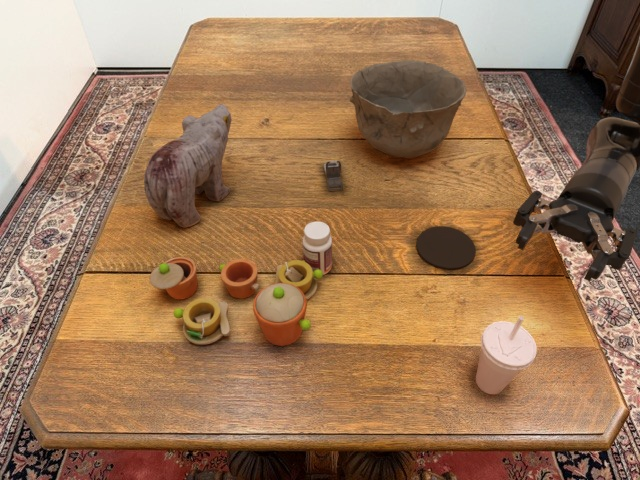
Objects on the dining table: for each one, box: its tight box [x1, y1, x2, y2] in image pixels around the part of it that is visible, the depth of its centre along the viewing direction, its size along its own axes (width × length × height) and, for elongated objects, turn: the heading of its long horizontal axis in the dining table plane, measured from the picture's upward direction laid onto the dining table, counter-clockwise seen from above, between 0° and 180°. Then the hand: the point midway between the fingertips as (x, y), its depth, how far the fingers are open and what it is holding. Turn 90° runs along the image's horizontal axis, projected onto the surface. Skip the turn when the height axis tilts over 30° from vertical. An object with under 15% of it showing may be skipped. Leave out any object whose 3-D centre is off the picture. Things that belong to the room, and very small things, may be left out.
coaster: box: [415, 225, 477, 271], centre depth 81 cm, size 10×10×1 cm
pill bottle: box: [301, 221, 333, 276], centre depth 76 cm, size 5×5×8 cm
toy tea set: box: [149, 256, 324, 347], centre depth 69 cm, size 26×16×10 cm, turn 89°
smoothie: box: [475, 315, 538, 395], centre depth 59 cm, size 6×6×14 cm
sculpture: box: [143, 103, 232, 229], centre depth 86 cm, size 12×21×15 cm, turn 175°
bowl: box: [349, 59, 467, 159], centre depth 98 cm, size 22×22×15 cm
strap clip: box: [323, 160, 344, 192], centre depth 94 cm, size 8×3×4 cm, turn 7°
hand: (554, 259), depth 60 cm, fingers open, 8 cm apart
